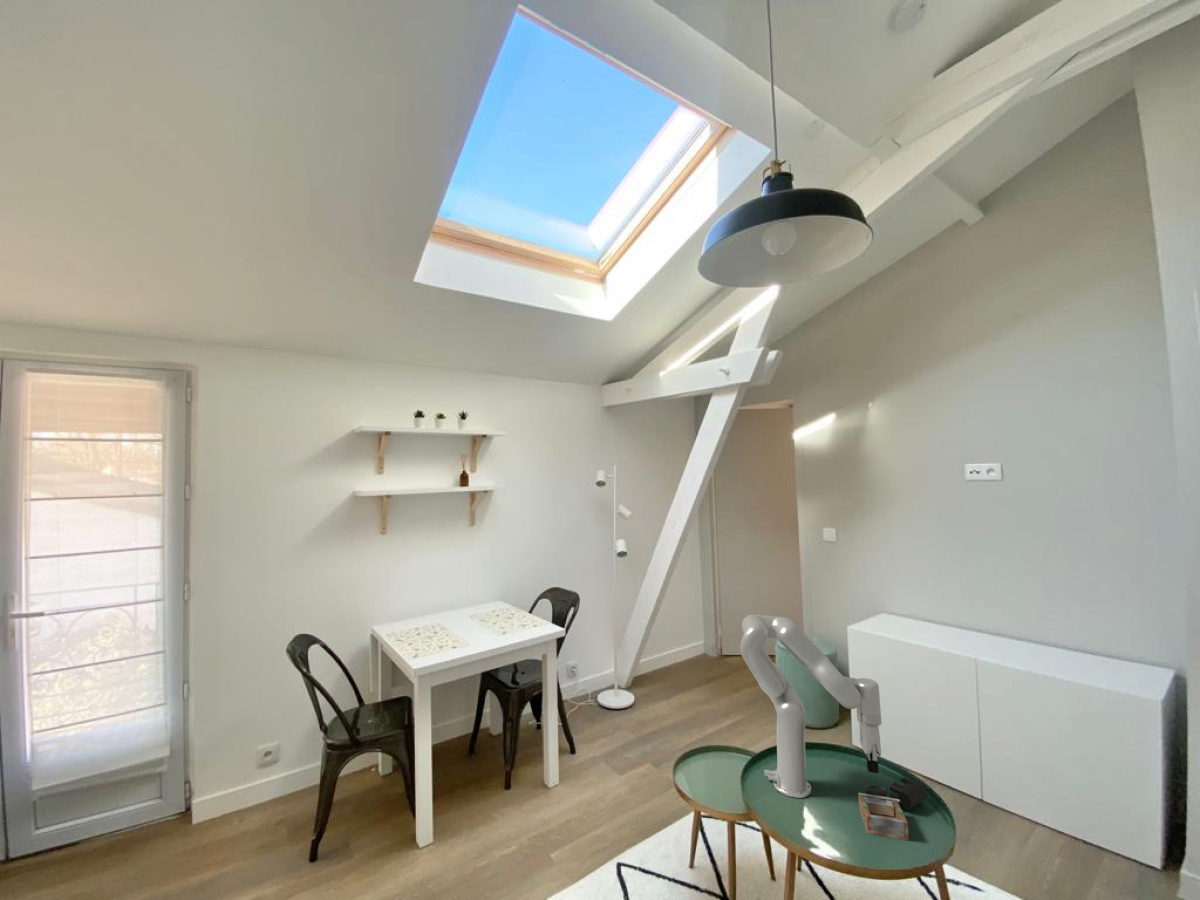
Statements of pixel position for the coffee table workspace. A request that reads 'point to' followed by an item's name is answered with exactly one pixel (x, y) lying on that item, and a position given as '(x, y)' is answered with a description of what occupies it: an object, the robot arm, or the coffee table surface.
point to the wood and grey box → (884, 821)
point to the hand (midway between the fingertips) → (872, 771)
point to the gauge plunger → (878, 800)
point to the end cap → (908, 793)
